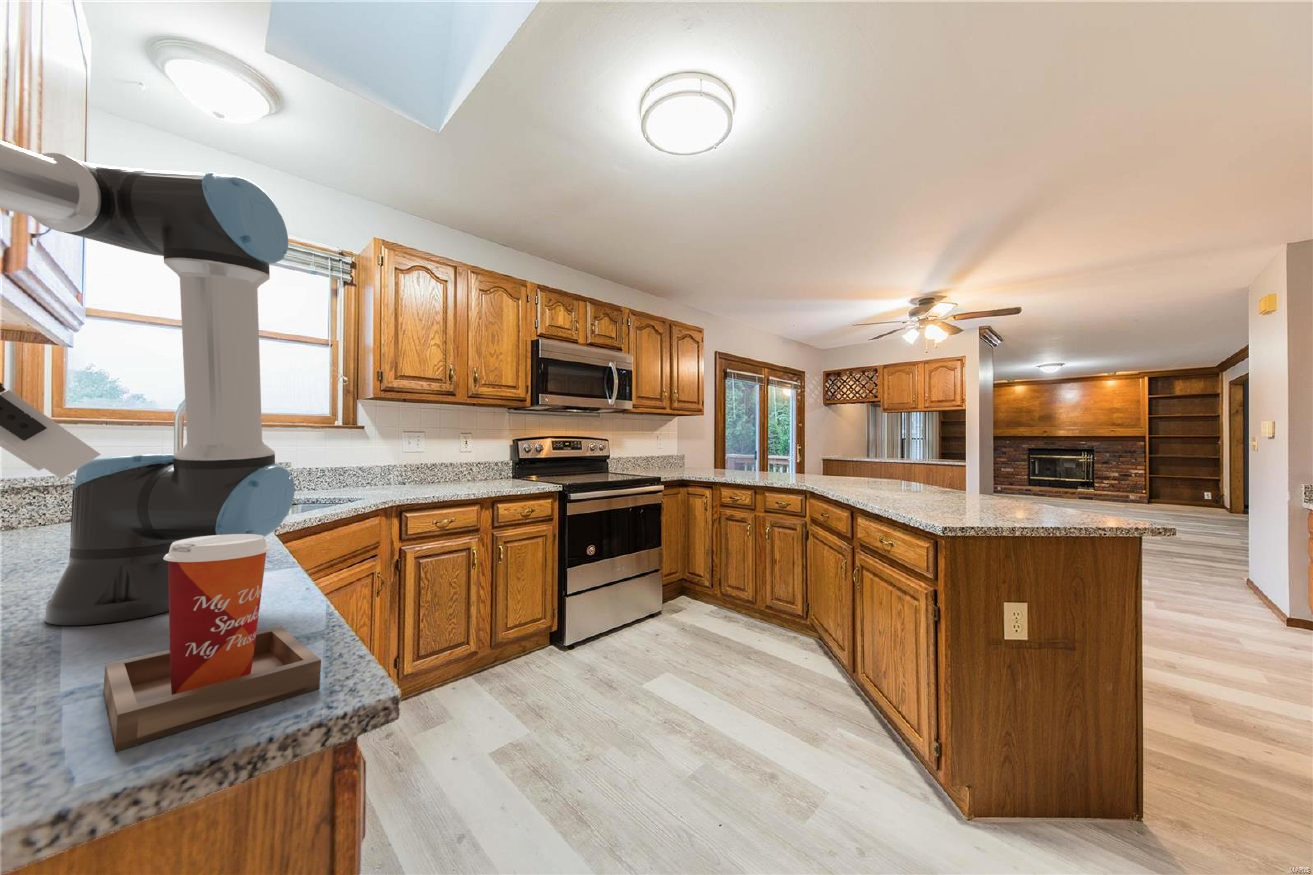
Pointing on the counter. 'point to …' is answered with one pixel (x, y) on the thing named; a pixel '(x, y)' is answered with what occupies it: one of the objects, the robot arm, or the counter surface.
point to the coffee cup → (213, 607)
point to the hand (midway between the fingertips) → (67, 463)
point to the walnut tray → (202, 690)
